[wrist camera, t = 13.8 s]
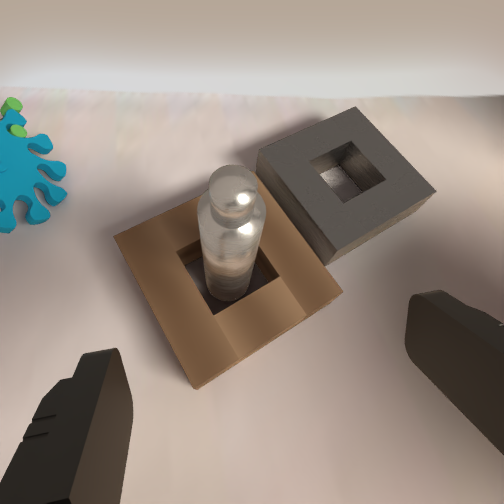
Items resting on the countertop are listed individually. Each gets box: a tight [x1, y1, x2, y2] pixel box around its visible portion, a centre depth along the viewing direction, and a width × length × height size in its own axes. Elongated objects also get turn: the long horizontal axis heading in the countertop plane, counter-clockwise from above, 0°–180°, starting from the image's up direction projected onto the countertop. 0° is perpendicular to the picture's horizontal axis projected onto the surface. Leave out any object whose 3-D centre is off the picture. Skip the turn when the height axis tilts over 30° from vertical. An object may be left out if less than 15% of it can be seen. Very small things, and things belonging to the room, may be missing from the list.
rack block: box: [113, 171, 343, 390], centre depth 23 cm, size 11×11×3 cm
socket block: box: [255, 106, 436, 266], centre depth 27 cm, size 10×10×3 cm
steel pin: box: [197, 165, 266, 301], centre depth 19 cm, size 3×3×12 cm
